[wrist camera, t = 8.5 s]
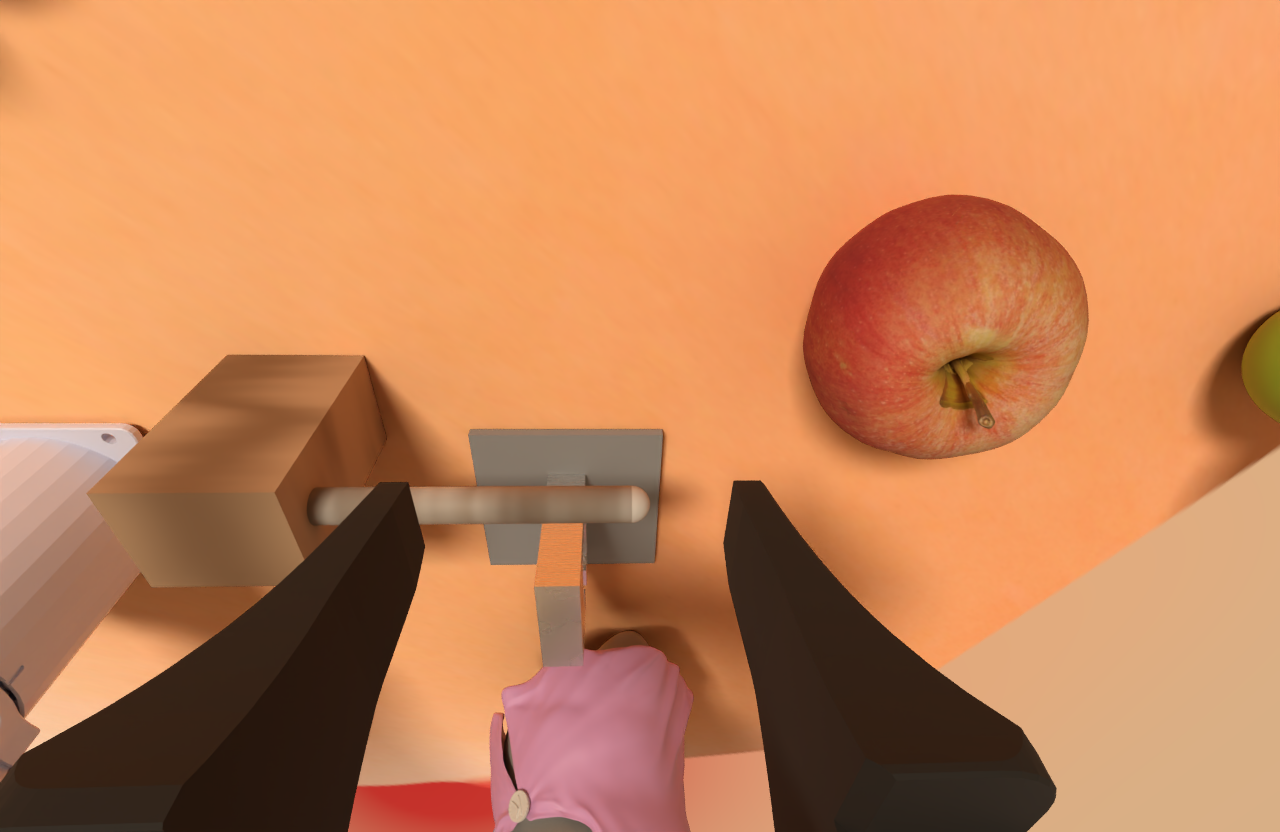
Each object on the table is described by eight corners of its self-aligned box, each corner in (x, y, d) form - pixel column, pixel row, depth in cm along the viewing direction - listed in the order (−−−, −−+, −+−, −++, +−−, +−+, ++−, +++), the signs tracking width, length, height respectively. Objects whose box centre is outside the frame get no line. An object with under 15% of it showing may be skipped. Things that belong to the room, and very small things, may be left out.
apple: (844, 412, 25) (925, 560, 19) (737, 276, 22) (792, 404, 15) (1034, 296, 22) (1205, 424, 16) (949, 117, 19) (1128, 190, 12)
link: (554, 551, 29) (543, 666, 24) (548, 473, 26) (534, 586, 21) (587, 551, 29) (583, 665, 24) (585, 473, 26) (579, 586, 21)
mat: (492, 558, 30) (490, 565, 29) (469, 429, 25) (468, 435, 25) (653, 556, 30) (654, 563, 30) (662, 429, 25) (662, 435, 25)
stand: (263, 439, 25) (151, 587, 19) (227, 354, 23) (85, 493, 16) (640, 438, 26) (650, 581, 20) (643, 357, 23) (655, 490, 17)
